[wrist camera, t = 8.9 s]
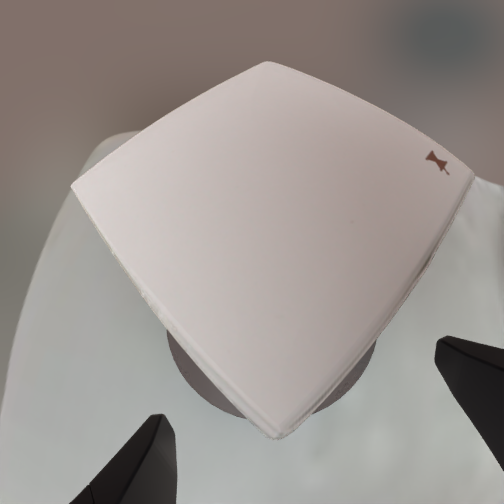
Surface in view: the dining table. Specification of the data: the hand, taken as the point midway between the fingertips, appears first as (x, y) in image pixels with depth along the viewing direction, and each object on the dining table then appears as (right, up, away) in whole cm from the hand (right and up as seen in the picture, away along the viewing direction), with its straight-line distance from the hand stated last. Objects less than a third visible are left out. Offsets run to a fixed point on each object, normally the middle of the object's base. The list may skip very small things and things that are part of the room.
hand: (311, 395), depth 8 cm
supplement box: (0, 0, +9) cm, 9 cm away
